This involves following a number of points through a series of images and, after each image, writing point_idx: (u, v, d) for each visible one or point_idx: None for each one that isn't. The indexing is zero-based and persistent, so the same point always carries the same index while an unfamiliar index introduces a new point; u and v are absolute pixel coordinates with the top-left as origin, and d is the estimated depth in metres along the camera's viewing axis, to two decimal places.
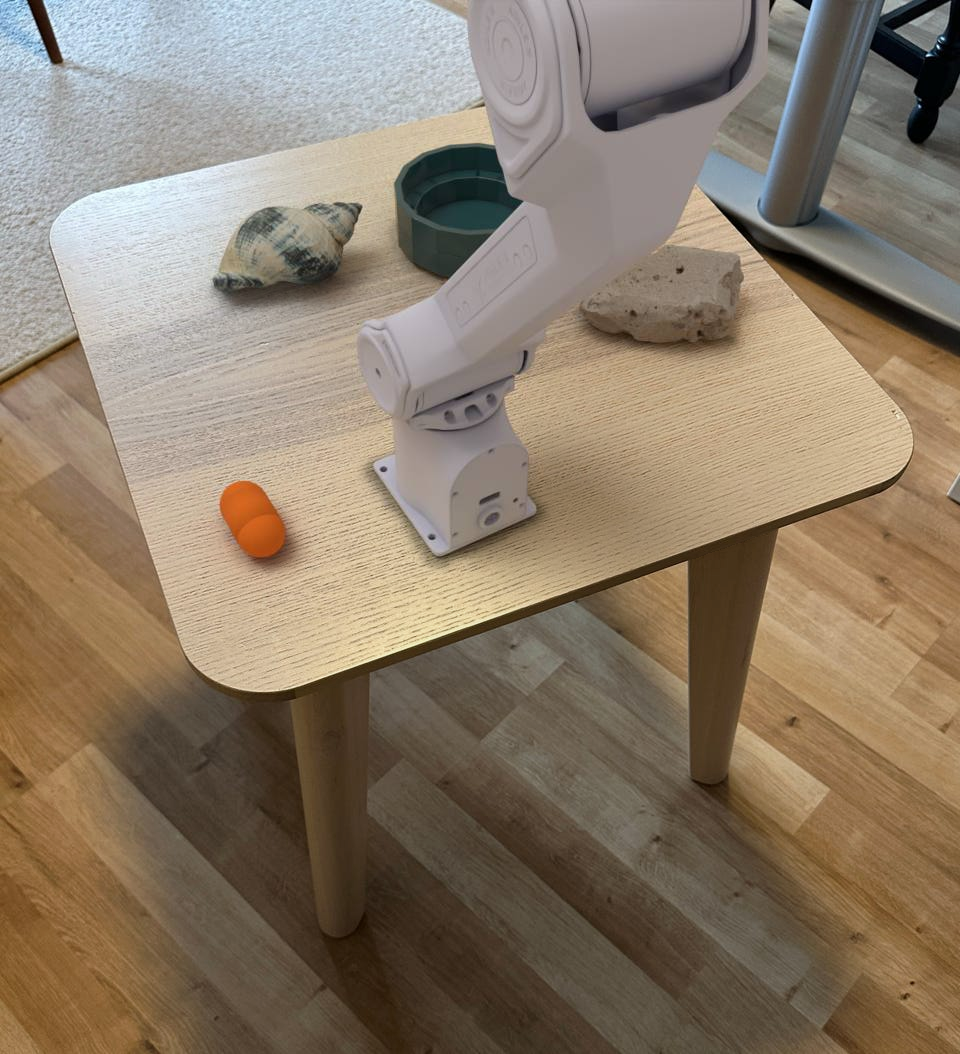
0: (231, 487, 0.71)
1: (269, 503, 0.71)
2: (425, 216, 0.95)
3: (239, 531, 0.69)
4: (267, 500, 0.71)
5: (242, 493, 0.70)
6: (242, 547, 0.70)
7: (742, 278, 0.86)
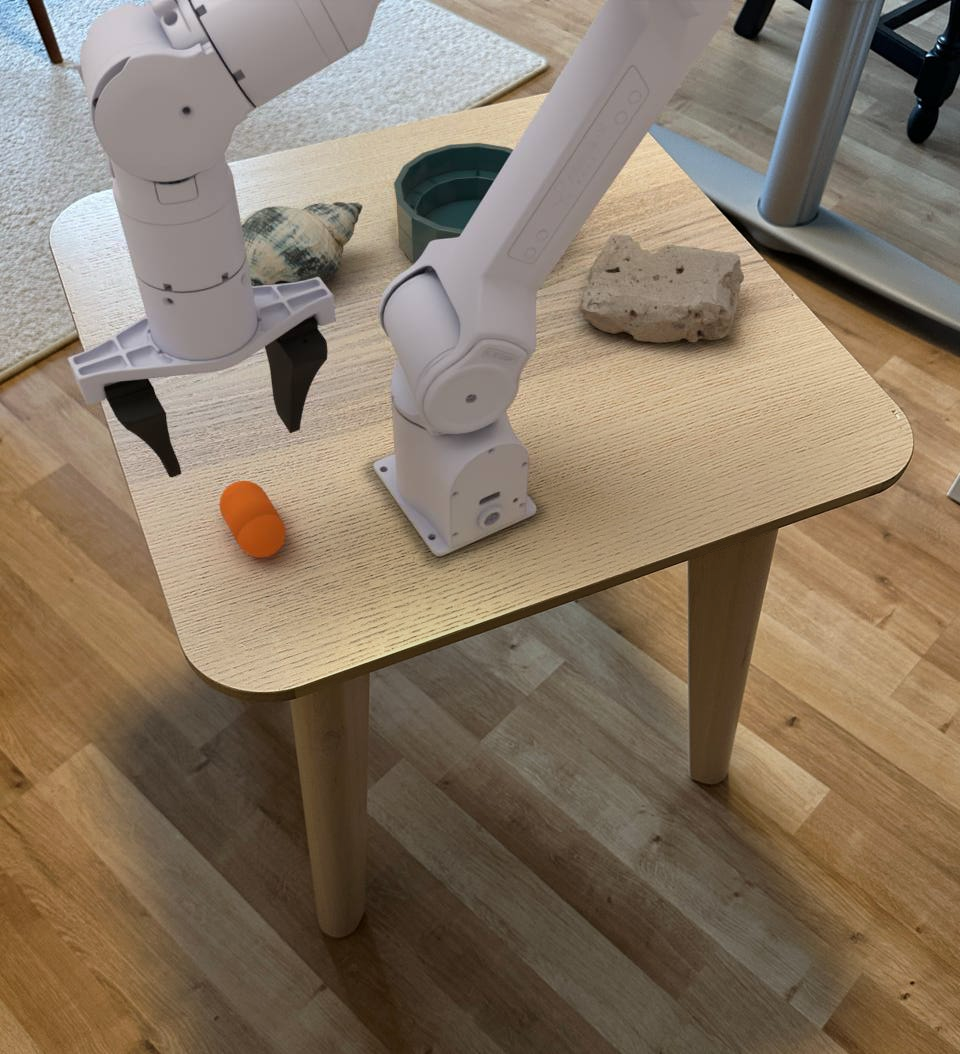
0: (231, 487, 0.71)
1: (269, 503, 0.71)
2: (425, 216, 0.95)
3: (239, 531, 0.69)
4: (267, 500, 0.71)
5: (242, 493, 0.70)
6: (242, 547, 0.70)
7: (742, 278, 0.86)
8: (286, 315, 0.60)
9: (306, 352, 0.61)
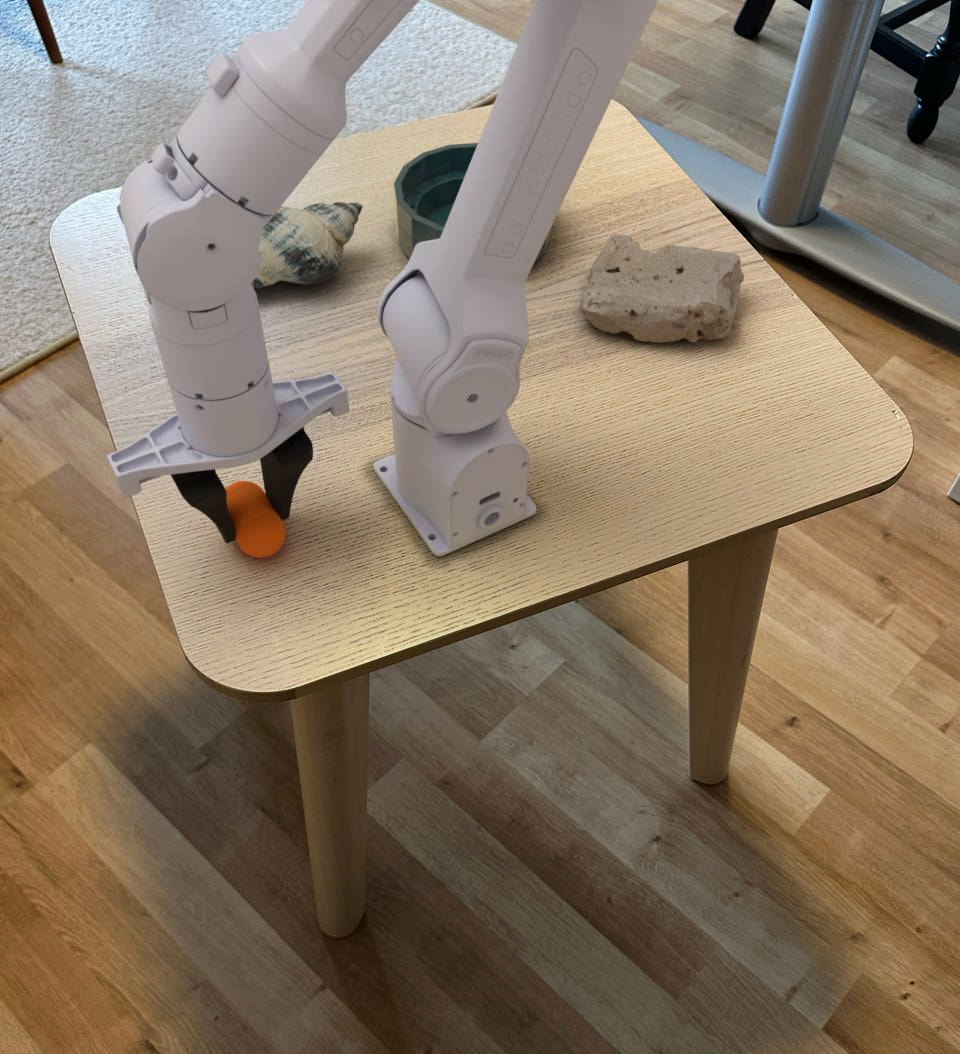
0: (231, 487, 0.71)
1: (269, 503, 0.71)
2: (425, 216, 0.95)
3: (239, 531, 0.69)
4: (267, 500, 0.71)
5: (242, 493, 0.70)
6: (242, 547, 0.70)
7: (742, 278, 0.86)
8: (304, 409, 0.65)
9: (293, 454, 0.65)
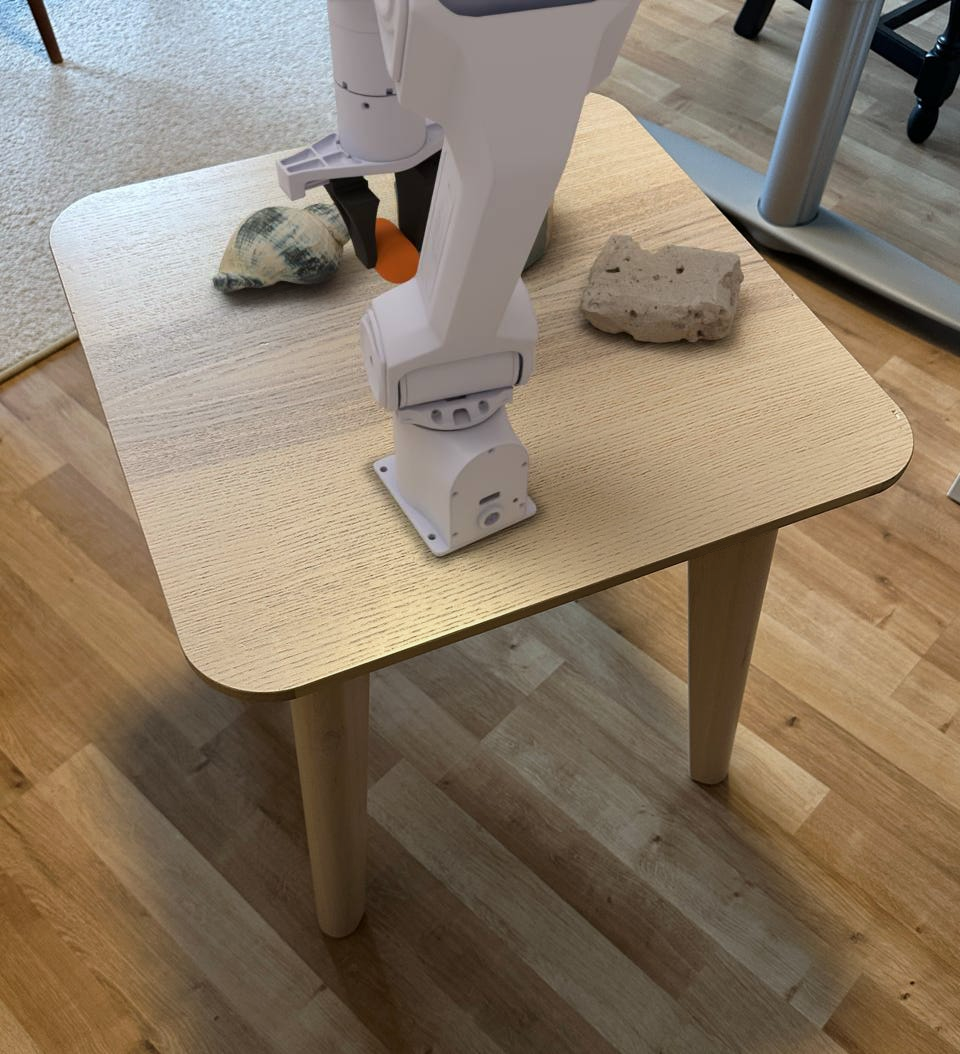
0: None
1: (404, 235, 0.78)
2: None
3: (379, 255, 0.76)
4: (402, 233, 0.78)
5: (380, 225, 0.77)
6: (382, 271, 0.77)
7: (742, 278, 0.86)
8: None
9: (437, 172, 0.72)
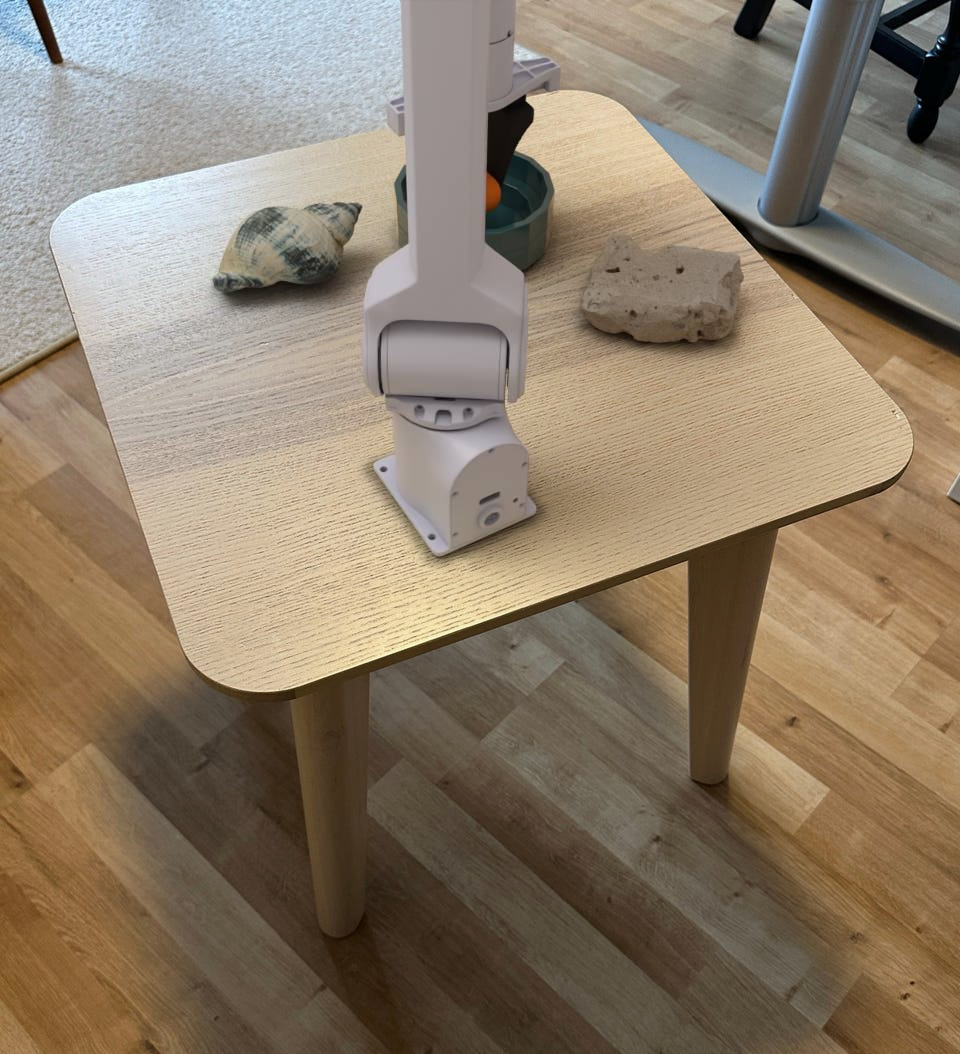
0: None
1: None
2: None
3: None
4: None
5: None
6: None
7: (742, 278, 0.86)
8: (529, 79, 0.84)
9: (520, 114, 0.84)
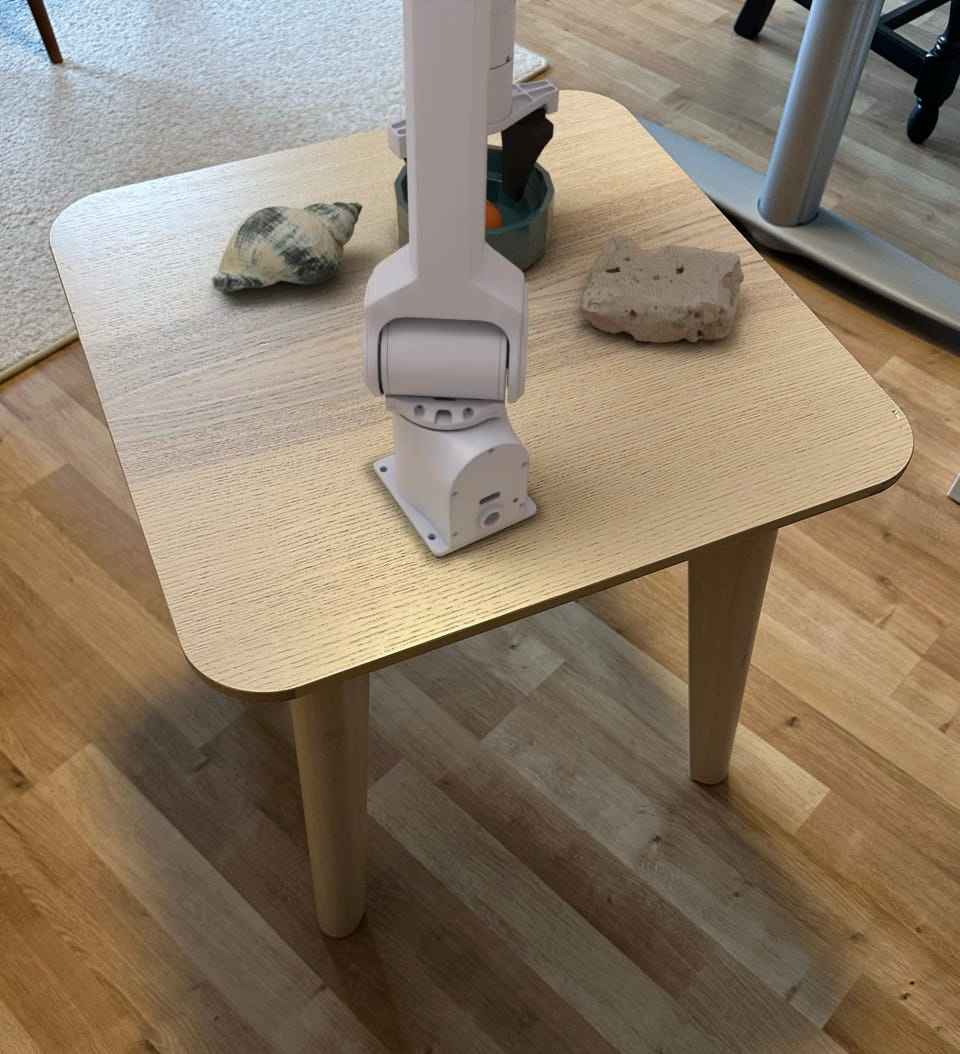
0: None
1: None
2: None
3: None
4: None
5: None
6: None
7: (742, 278, 0.86)
8: (528, 102, 0.86)
9: (540, 130, 0.86)
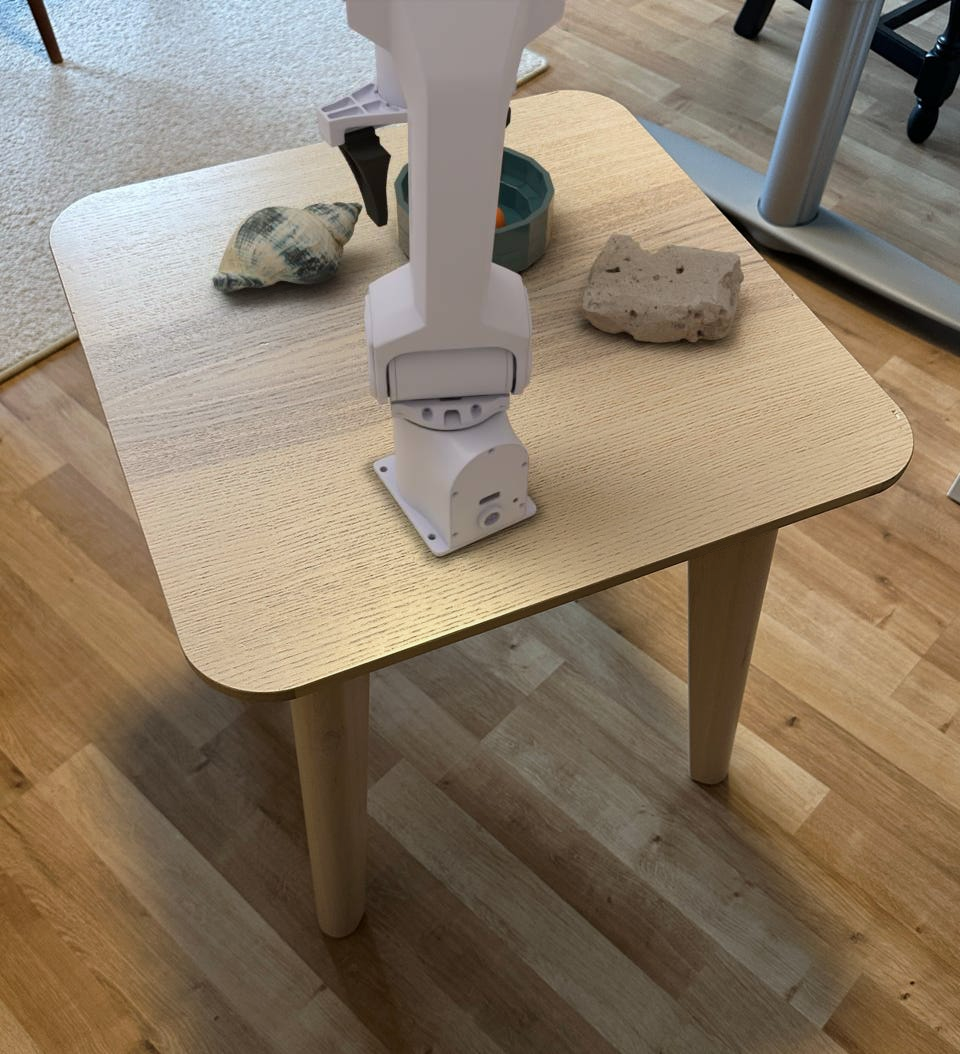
0: None
1: None
2: None
3: None
4: None
5: None
6: None
7: (742, 278, 0.86)
8: None
9: None
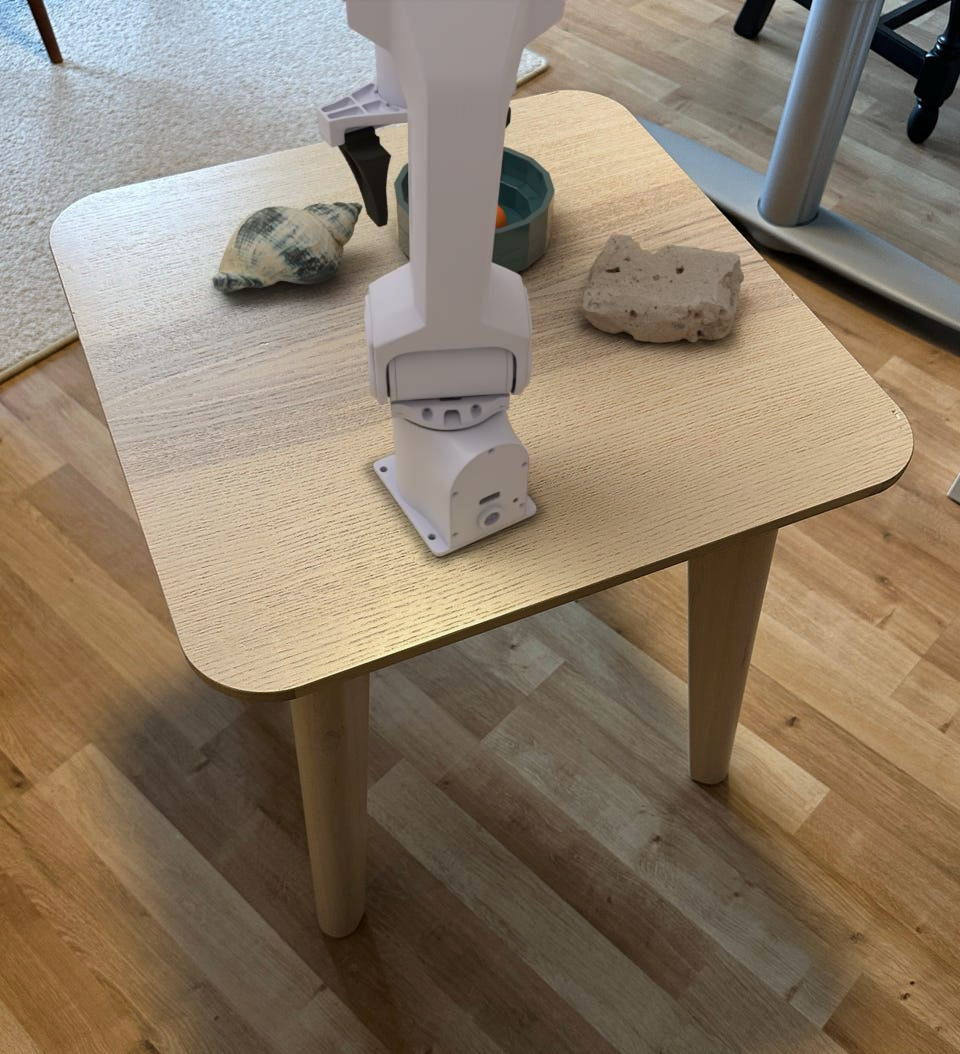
0: None
1: None
2: None
3: None
4: None
5: None
6: None
7: (742, 278, 0.86)
8: None
9: None
